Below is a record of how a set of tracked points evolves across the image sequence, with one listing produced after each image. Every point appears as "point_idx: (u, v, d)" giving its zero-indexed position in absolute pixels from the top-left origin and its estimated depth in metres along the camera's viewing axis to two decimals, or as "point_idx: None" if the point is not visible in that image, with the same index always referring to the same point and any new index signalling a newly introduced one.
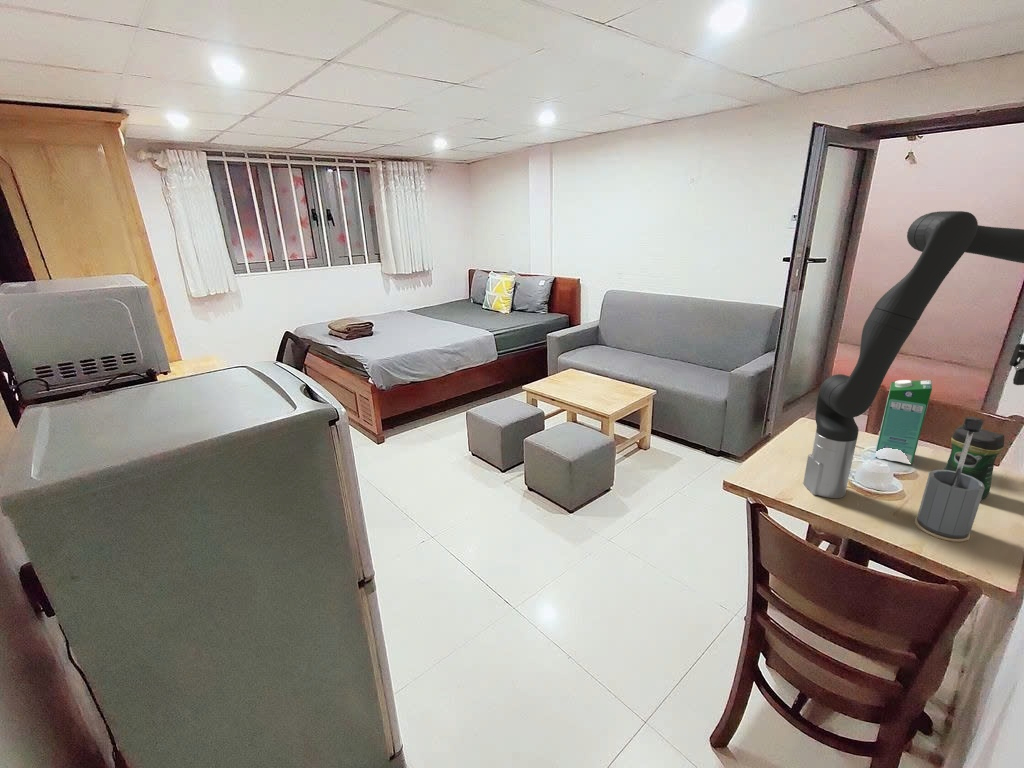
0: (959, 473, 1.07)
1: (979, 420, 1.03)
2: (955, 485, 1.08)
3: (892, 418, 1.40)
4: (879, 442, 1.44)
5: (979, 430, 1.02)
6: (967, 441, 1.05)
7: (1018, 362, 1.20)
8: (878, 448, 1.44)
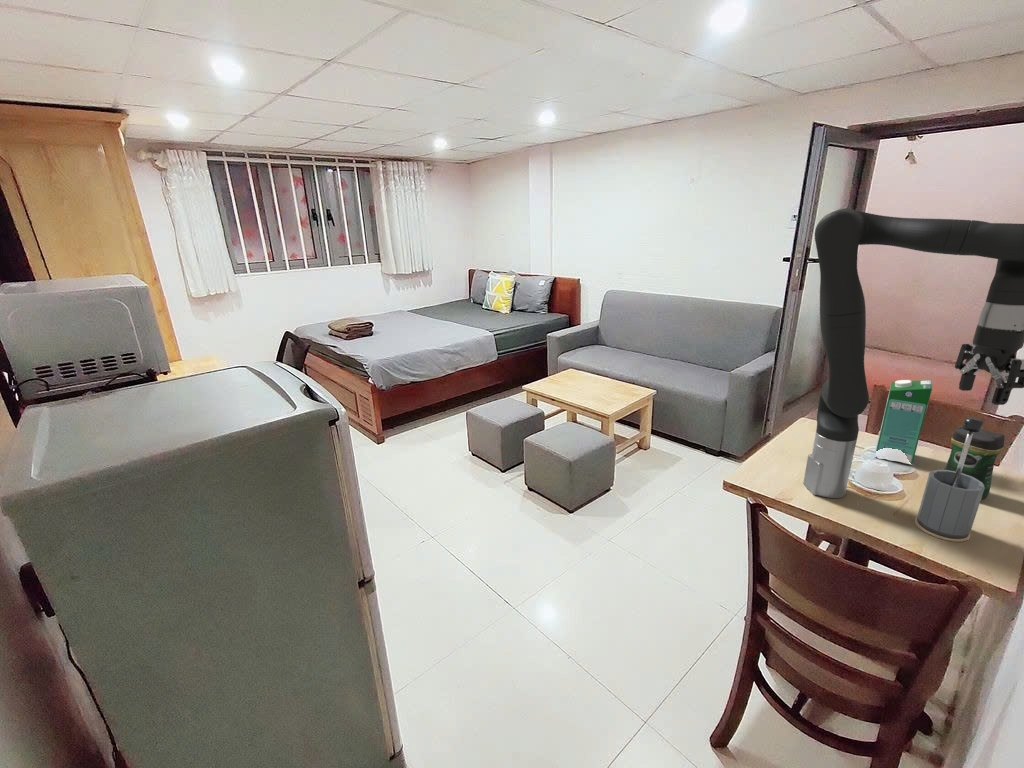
0: (959, 473, 1.07)
1: (979, 420, 1.03)
2: (955, 485, 1.08)
3: (892, 418, 1.40)
4: (879, 442, 1.44)
5: (979, 430, 1.02)
6: (967, 441, 1.05)
7: (964, 364, 1.06)
8: (878, 448, 1.44)
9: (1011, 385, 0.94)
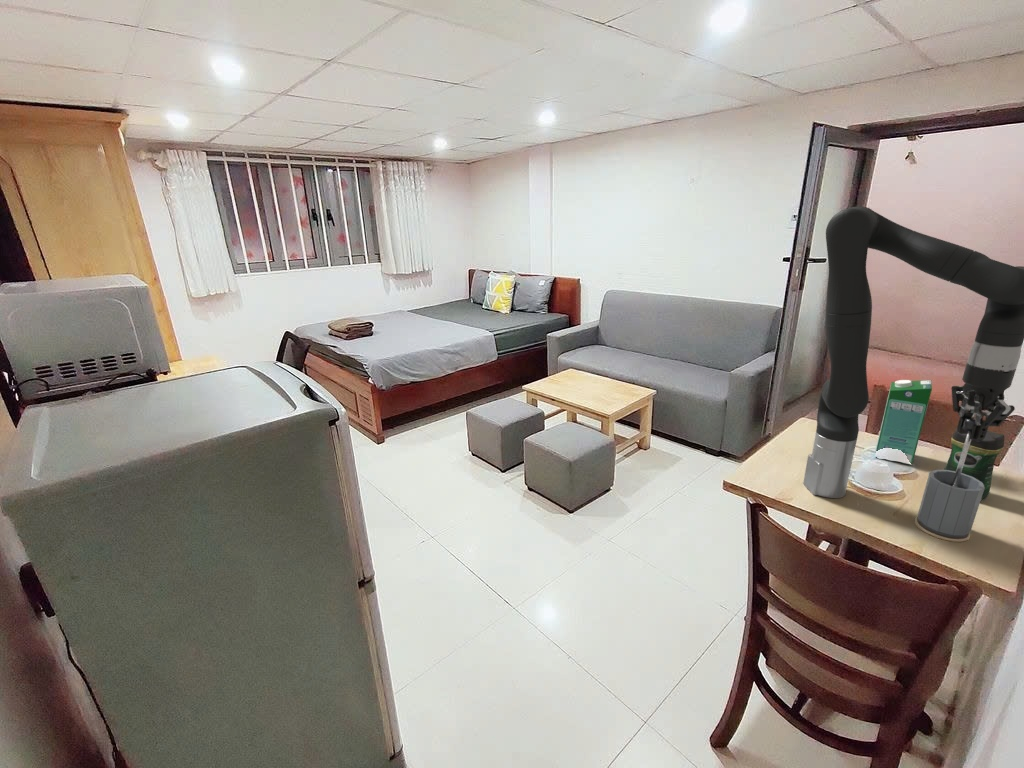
0: (959, 473, 1.07)
1: None
2: (955, 485, 1.08)
3: (892, 418, 1.40)
4: (879, 442, 1.44)
5: None
6: (967, 441, 1.05)
7: None
8: (878, 448, 1.44)
9: (987, 423, 0.99)
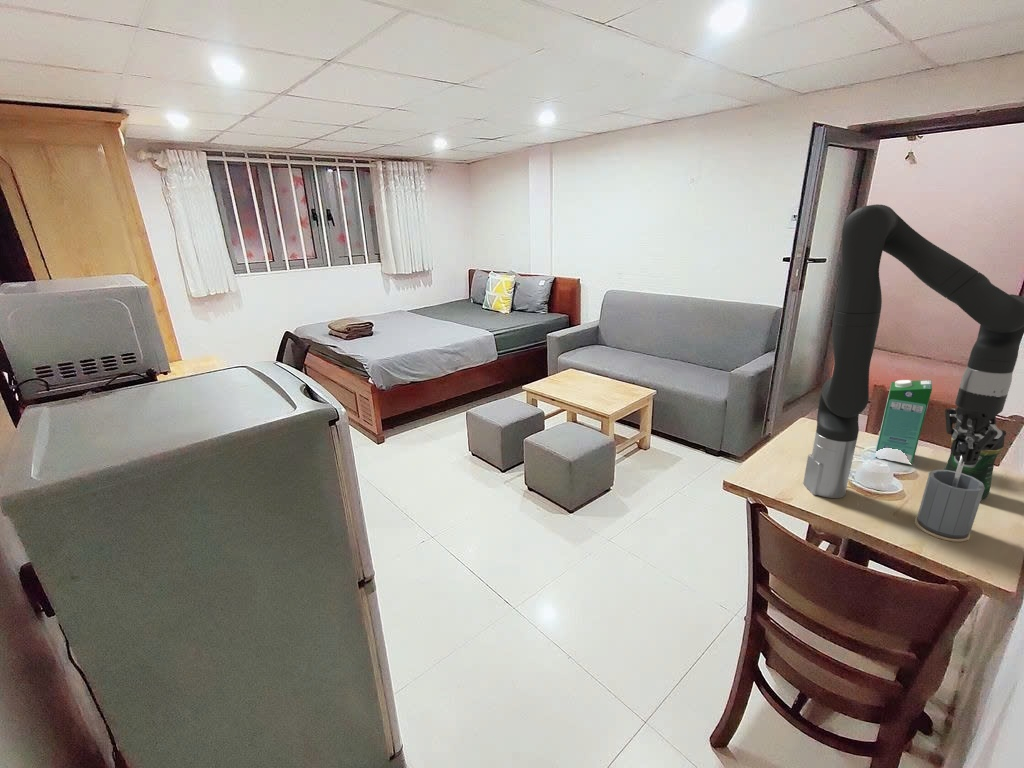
0: None
1: None
2: None
3: (892, 418, 1.40)
4: (879, 442, 1.44)
5: None
6: (960, 463, 1.07)
7: None
8: (878, 448, 1.44)
9: (980, 447, 1.01)
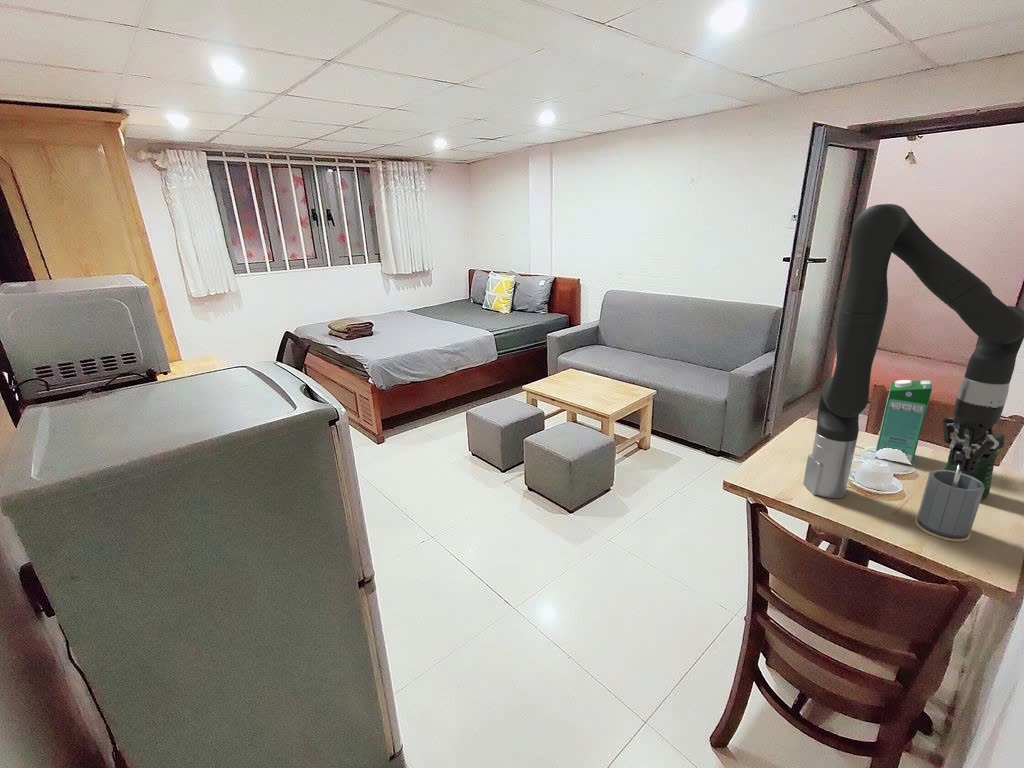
0: None
1: None
2: None
3: (892, 418, 1.40)
4: (879, 442, 1.44)
5: None
6: (957, 472, 1.07)
7: None
8: (878, 448, 1.44)
9: (976, 457, 1.01)
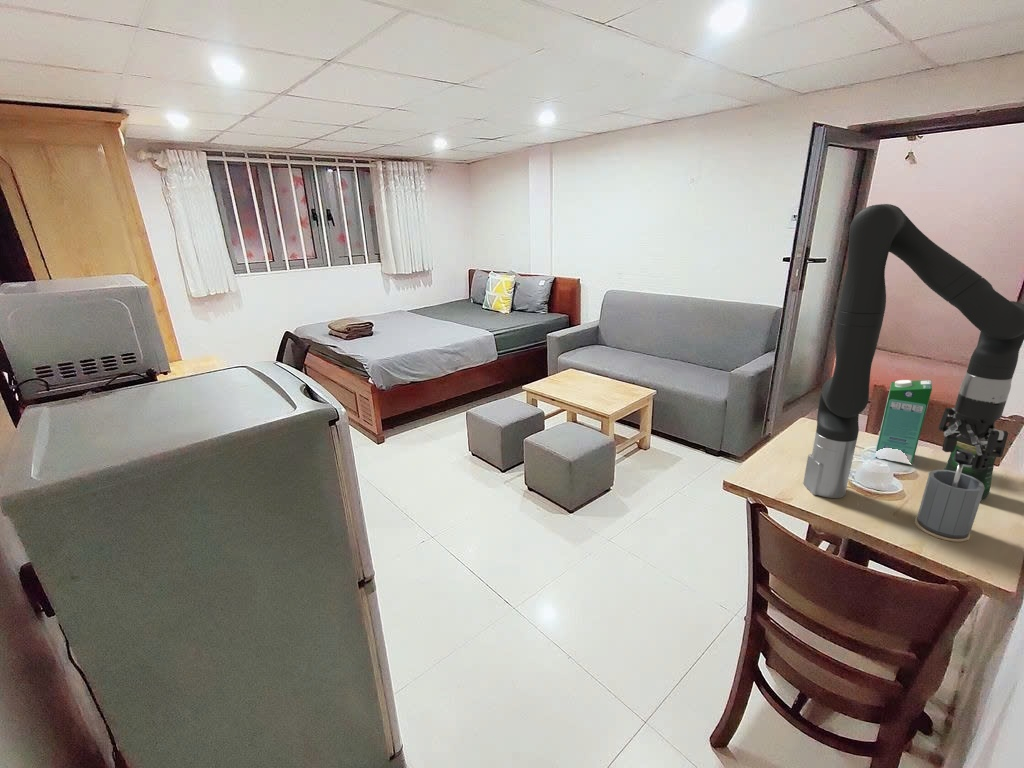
0: None
1: (969, 453, 1.05)
2: None
3: (892, 418, 1.40)
4: (879, 442, 1.44)
5: (969, 462, 1.05)
6: (958, 472, 1.07)
7: (947, 427, 1.10)
8: (878, 448, 1.44)
9: (989, 454, 0.98)
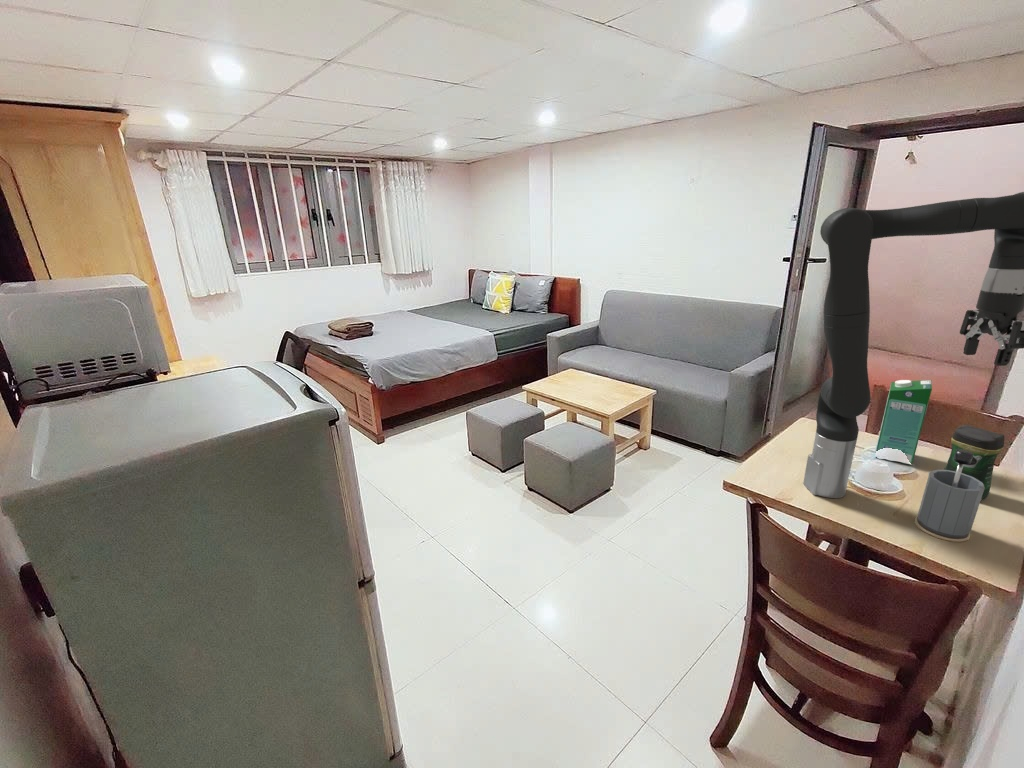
0: None
1: (969, 453, 1.05)
2: None
3: (892, 418, 1.40)
4: (879, 442, 1.44)
5: (969, 462, 1.05)
6: (958, 472, 1.07)
7: (968, 330, 1.11)
8: (878, 448, 1.44)
9: (1012, 345, 0.99)
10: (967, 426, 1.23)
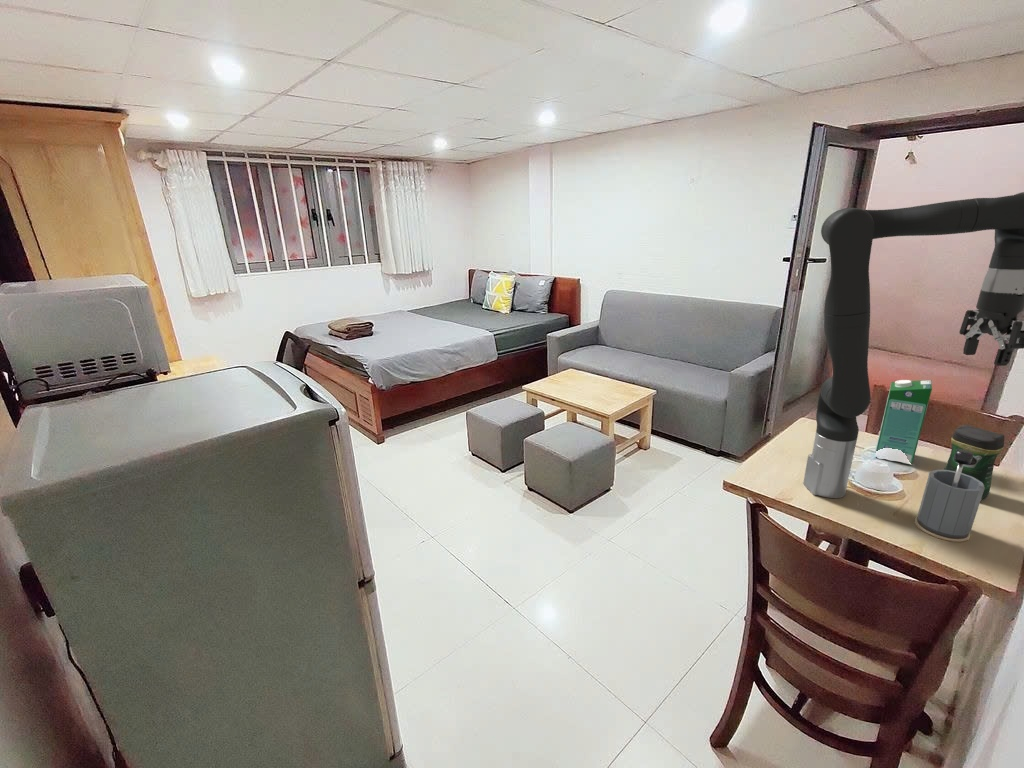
0: None
1: (969, 453, 1.05)
2: None
3: (892, 418, 1.40)
4: (879, 442, 1.44)
5: (969, 462, 1.05)
6: (958, 472, 1.07)
7: (968, 330, 1.11)
8: (878, 448, 1.44)
9: (1012, 345, 0.99)
10: (967, 426, 1.23)
